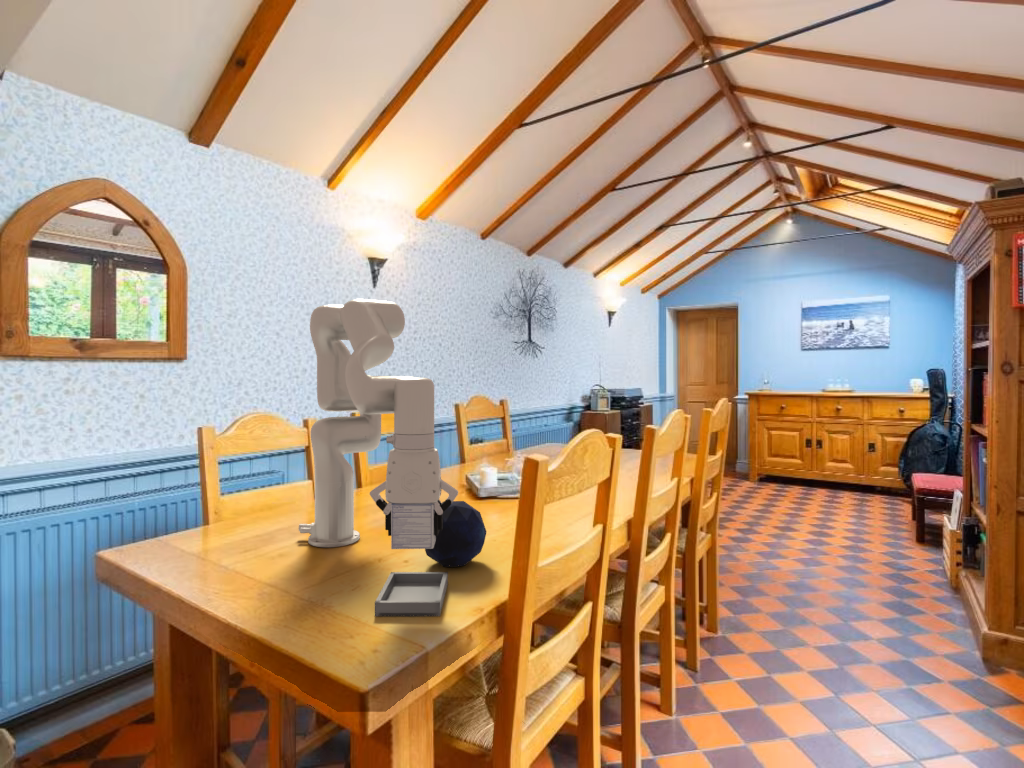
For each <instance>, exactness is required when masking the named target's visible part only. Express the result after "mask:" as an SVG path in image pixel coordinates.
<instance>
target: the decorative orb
mask: <svg viewBox="0 0 1024 768" xmlns="http://www.w3.org/2000/svg"><path fill="white" fill-rule="evenodd" d="M443 502H444V501H441V503H443ZM486 537H487V529H486V526H485V523H484V519H483V518H482V514H481V512H480V511H479V510H477V509H476V508H474V507H473V506H472V505H470V504H468V503H467V502H466V501H464V500H457V501H456V500H454V501H453V502H452V504H451V505H450V506H449V507H448V508H447V509H446V510H445V511H444V512H443V528H442V530H439V534H438V536H436V541H435V544H434V548H433V549H424V552H425V554H426V556H427V557H429V558H430V559H432V560H433V561H435V562H436V563H438V564H439V565H440V566H442V567H443V568H447V567H448V568H449V567H450V568H454V567H464V566H466V565H467V564H468V563H470V562H471V561H472V560H473V559H474V558H476V557H477V556H478V555H480V553H481V552H482V549H483V547H484V544H485V541H486Z"/></svg>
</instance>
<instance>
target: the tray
mask: <svg viewBox="0 0 1024 768" xmlns="http://www.w3.org/2000/svg"><path fill="white" fill-rule="evenodd" d="M448 579H449V572H448V571H396V572H395V571H391V572H390V573H389V574H388V577H387V579H386V581H385V582H384V584H383V586H382V588H381V590H380V591H379V594H378V595H377V597H376V599H375V601H374V617H441V614H442V608H443V606H444V602H445V597H446V593H447V588H448V585H449V584H448V583H449V580H448Z"/></svg>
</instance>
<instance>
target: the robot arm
mask: <svg viewBox="0 0 1024 768" xmlns="http://www.w3.org/2000/svg"><path fill="white" fill-rule="evenodd" d="M405 325H406V318H405V314H404V311H403V309H402V308H401V307H400V305H398V304H397V303H396V302H394V301H389V300H388V301H387V300H378V299H368V298H365V299H364V298H355V299H352V300H348V301H347V302H346V303H344V304H323V305H319V306H317V307H315V308H314V309H313V310H312V312H311V314H310V320H309V331H310V336H311V337H310V338H311V341H312V343H313V347H314V349H315V354H316V395H317V397H316V398H317V404H318V406H319V408H320V409H321V410H322V411H325V412H330V413H331V412H334V413H335V412H359V415H355V416H351V415H350V416H347V415H345V416H329V417H328V416H327V417H324V418H321V419H318V420H316V421H315V422H314V423H313V424H312V426H311V428H310V442H311V448H312V454H313V455H312V456H313V464H314V465H313V466H314V468H313V469H314V522H311V523H309V524H308V523H299V524H298V532H299V533H300V534H309V536H308V538H307V542H308V544H309V545H310V546H313V547H317V548H337V547H344V546H348V545H351V544H354V543H356V542H358V541H359V540H360V538H361V536H360V535H361V534H360V532H359V531H357V530H355V529H354V525H355V523H354V522H355V520H354V518H355V516H354V514H355V511H354V505H355V502H354V500H355V499H354V498H355V494H354V493H355V492H354V491H355V490H354V489H355V487H354V485H355V484H354V482H355V481H354V480H355V478H354V477H355V476H354V469H353V467H352V464H350V463H349V461H348V460H347V458H345V456H344V455H347V454H355V453H356V454H357V453H365V452H371V451H374V450H376V449H377V448H379V445H380V443H381V440H382V439H381V438H382V415H384V414H386V415H388V414H389V415H390V414H394V415H393V416H394V417H393V423H394V426H393V428H394V429H393V434H392V435H390V436H386V439H385V440H386V444H391V445H392V446H393V447H392V449H390V450H389V454H388V457H387V465H386V476H385V480H384V482H382V483H381V484H378V486H376V487H374V488H372V490H371V491H370V492H369V495H370V497H371V498H372V500H373V502H374V503H375V505H376V506H377V507H378V508H379V509H380V510H381V511H382V513H383V514H384V515H385V517H384V518H385V521H384V523H385V524H384V526H385V527H384V528H385V531H387V535H388V536H389V537H391V504H433V503H434V509H435V515H434V535H435V536H438V534H439V530H442V528H443V512H444V511H445V510H446V509H447V508H448V507H449V506H450V505H451V504H452V502H453V501H455V500H456V498H457V496H458V495H459V490H458V489H456V488H455V487H453V486H452V485H451V484H449V483H447V481H445V480H443V479H442V473H441V472H442V471H441V463H440V462H441V461H440V456H439V450H438V448H435V384H434V381H433V380H432V379H431V378H427V377H416V376H410V375H405V376H404V375H369V374H367V373H366V371H368V370H370V369H373V368H375V367H377V366H379V365H381V364H383V363H385V362H386V361H387V360H388V359H389V358H390V357H391V356H392V354H393V353H394V350H395V343H394V339H395V338H398V337H399V336H400V335H401V334H402V333H403V332H404V329H405ZM343 341H349V343H350V345H351V347H352V350H353V352H352V353H351V352H350V349H349V348H348V347H347V346H346V344H345V343H344V342H343ZM384 491H385V493H384V495H385V499H384V498H383V497H382V496H381V493H382V492H384ZM442 491H444V492H445V493H447V494H448V496H447V498H446V499H445V500H444V501H441V500H440V499H441V495H442ZM442 502H443V503H442Z"/></svg>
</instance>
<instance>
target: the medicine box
mask: <svg viewBox="0 0 1024 768" xmlns="http://www.w3.org/2000/svg"><path fill="white" fill-rule="evenodd" d="M434 515H435V509H434V503H433V504H391V536H390V537H391V538H390V541H391V542H390V544H391V545H390V549H391V550H415V549H416V550H425V549H433V548H434V544H435V541H436V536H435V535H434Z"/></svg>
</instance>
